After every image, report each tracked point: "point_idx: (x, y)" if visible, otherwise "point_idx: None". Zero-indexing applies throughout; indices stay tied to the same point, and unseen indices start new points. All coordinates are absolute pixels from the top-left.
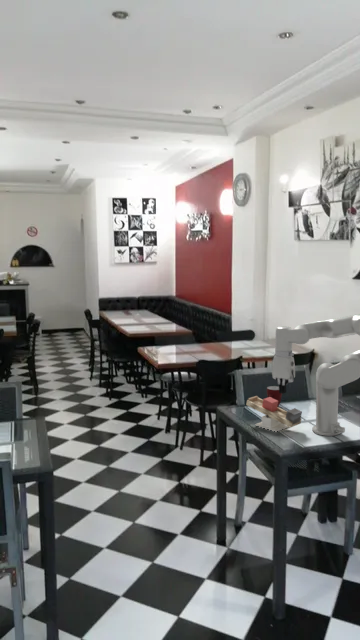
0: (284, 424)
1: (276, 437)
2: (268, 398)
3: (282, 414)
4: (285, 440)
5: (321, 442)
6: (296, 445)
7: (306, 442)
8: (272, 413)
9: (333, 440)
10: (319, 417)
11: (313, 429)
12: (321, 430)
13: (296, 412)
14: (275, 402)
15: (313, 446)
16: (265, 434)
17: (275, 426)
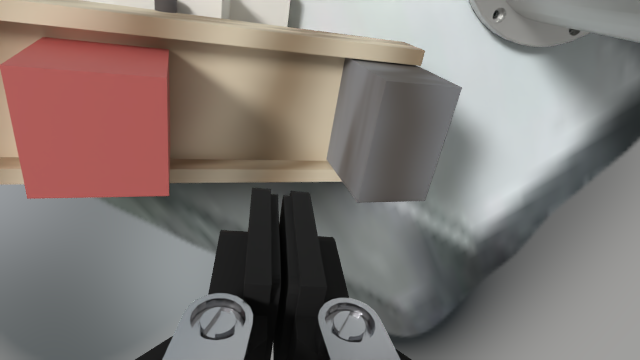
0: (258, 21)
1: (314, 217)
2: (42, 131)
3: (255, 76)
4: (371, 225)
5: (545, 148)
6: (439, 247)
7: (473, 191)
8: (214, 180)
9: (606, 82)
10: (595, 31)
11: (483, 11)
12: (546, 23)
13: (427, 151)
14: (167, 129)
15: (514, 215)
16: (242, 214)
17: None
